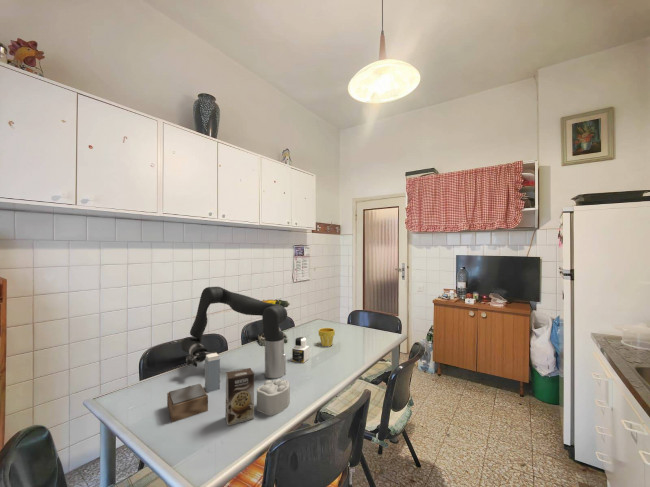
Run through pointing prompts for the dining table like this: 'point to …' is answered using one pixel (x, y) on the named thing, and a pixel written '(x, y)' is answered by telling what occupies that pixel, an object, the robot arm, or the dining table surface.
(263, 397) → the lumpy-topped squat cylinder
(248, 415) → the coffee box
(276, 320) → the robot arm
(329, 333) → the plant pot
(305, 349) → the medicine bottle
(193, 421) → the dining table surface
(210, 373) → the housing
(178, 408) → the stand
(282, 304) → the cordless drill
